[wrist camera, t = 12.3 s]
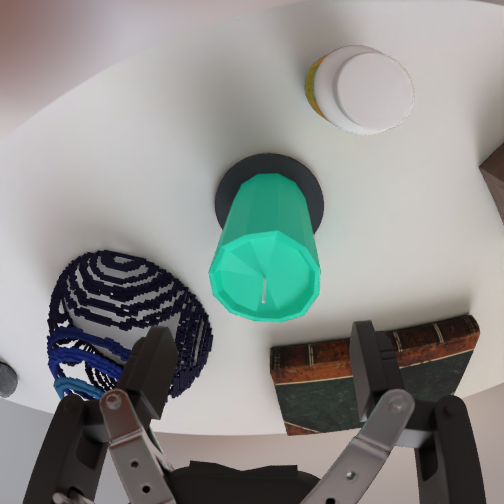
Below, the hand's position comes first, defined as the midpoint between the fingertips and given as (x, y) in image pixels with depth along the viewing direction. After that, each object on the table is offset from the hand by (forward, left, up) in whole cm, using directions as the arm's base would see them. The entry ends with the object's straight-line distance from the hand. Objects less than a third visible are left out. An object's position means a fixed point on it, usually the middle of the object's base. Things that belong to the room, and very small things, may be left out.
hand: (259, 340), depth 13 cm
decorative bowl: (-1, -22, -15) cm, 27 cm away
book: (+26, -6, -15) cm, 31 cm away
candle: (0, 0, -15) cm, 15 cm away
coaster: (0, 0, -15) cm, 15 cm away
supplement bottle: (-3, +11, -15) cm, 19 cm away
